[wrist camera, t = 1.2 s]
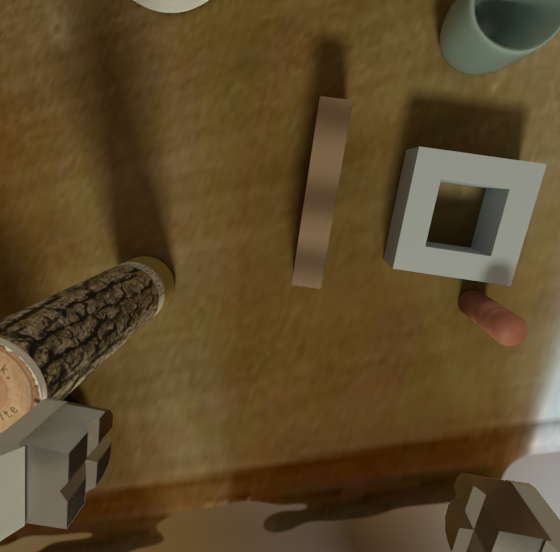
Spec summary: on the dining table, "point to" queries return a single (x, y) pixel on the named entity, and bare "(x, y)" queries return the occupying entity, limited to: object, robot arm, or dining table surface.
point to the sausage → (493, 318)
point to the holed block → (491, 222)
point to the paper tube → (75, 333)
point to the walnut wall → (321, 190)
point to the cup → (496, 32)
